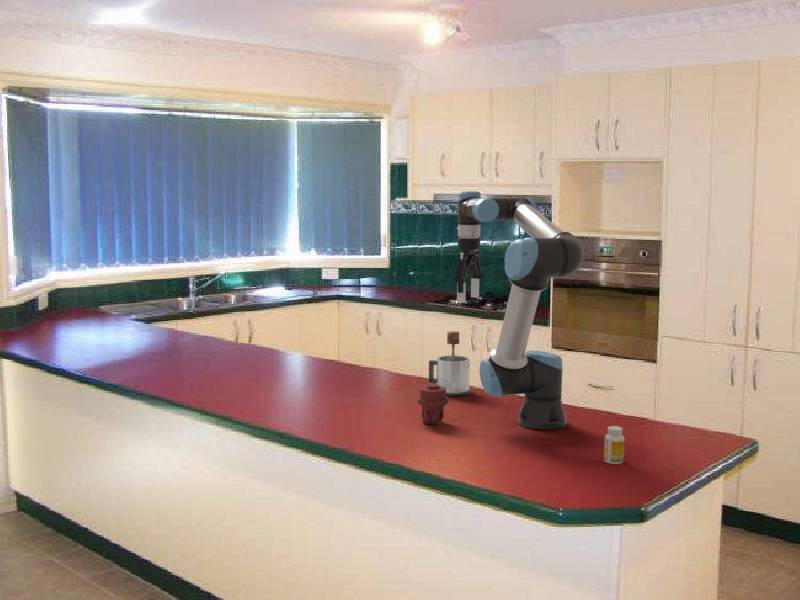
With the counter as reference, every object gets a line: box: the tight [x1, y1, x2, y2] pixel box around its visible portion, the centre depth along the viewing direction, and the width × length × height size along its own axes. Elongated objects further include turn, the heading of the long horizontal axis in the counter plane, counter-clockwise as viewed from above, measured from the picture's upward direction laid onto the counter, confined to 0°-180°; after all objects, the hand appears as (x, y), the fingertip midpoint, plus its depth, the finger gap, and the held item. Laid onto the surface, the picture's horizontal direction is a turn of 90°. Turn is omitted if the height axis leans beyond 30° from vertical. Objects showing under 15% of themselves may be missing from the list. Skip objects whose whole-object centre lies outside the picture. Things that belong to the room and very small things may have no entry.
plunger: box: [446, 330, 460, 362], centre depth 325 cm, size 8×8×21 cm
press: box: [428, 355, 472, 398], centre depth 326 cm, size 16×13×12 cm
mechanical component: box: [416, 383, 450, 425], centre depth 286 cm, size 12×10×10 cm
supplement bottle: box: [603, 425, 626, 465], centre depth 248 cm, size 5×5×10 cm
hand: (468, 299), depth 304 cm, fingers open, 13 cm apart
